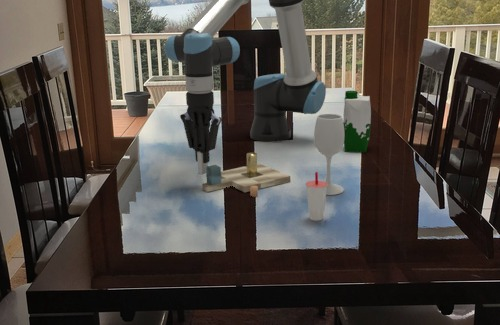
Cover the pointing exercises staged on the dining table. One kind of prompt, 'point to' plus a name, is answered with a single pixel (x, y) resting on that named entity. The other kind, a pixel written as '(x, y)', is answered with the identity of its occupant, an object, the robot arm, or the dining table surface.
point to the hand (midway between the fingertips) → (203, 173)
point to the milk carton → (356, 122)
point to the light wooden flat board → (242, 178)
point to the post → (251, 165)
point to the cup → (316, 198)
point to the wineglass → (329, 143)
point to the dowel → (254, 191)
